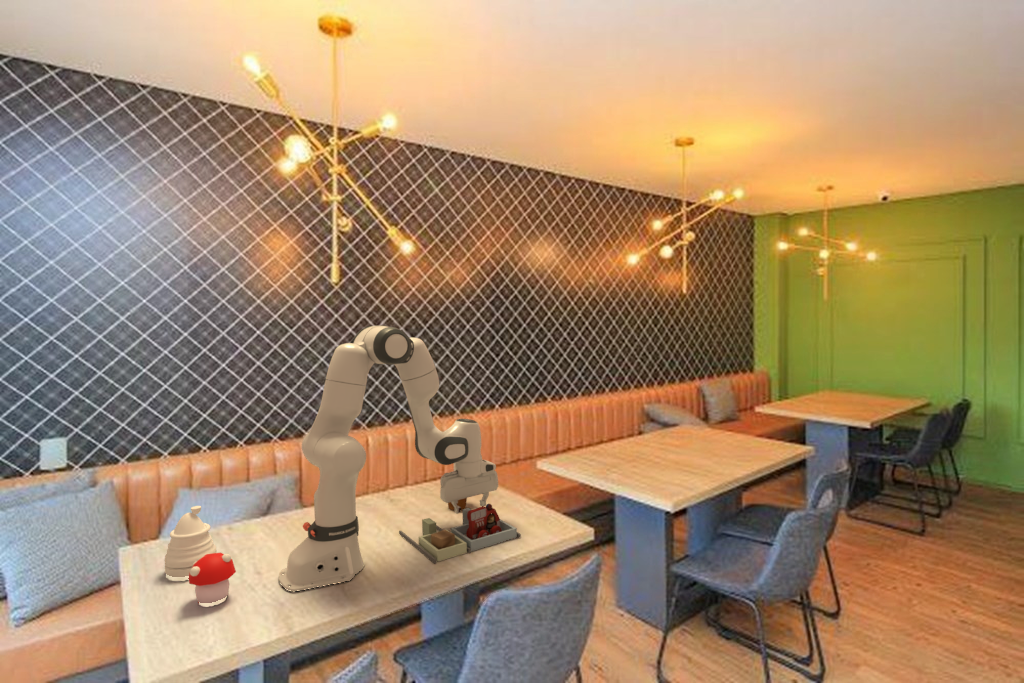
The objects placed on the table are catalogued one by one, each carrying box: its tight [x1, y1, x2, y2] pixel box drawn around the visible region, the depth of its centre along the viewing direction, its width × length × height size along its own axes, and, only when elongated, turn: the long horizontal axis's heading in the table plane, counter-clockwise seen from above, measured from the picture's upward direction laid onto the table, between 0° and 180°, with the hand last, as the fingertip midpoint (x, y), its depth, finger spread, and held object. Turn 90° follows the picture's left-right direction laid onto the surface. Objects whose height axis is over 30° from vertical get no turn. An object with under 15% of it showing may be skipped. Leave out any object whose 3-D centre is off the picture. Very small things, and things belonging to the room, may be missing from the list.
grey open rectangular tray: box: [450, 507, 518, 552], centre depth 180 cm, size 17×18×6 cm
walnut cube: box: [431, 529, 455, 550], centre depth 170 cm, size 5×5×5 cm
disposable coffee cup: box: [444, 476, 468, 511], centre depth 205 cm, size 10×10×12 cm
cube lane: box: [418, 517, 468, 563], centre depth 172 cm, size 10×18×6 cm, turn 34°
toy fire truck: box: [465, 503, 502, 540], centre depth 178 cm, size 7×12×10 cm, turn 134°
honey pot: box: [164, 505, 218, 577], centre depth 160 cm, size 13×13×18 cm
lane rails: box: [398, 524, 522, 565], centre depth 180 cm, size 30×26×1 cm
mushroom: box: [188, 552, 237, 603], centre depth 143 cm, size 11×11×12 cm
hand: (470, 509), depth 186 cm, fingers open, 8 cm apart
